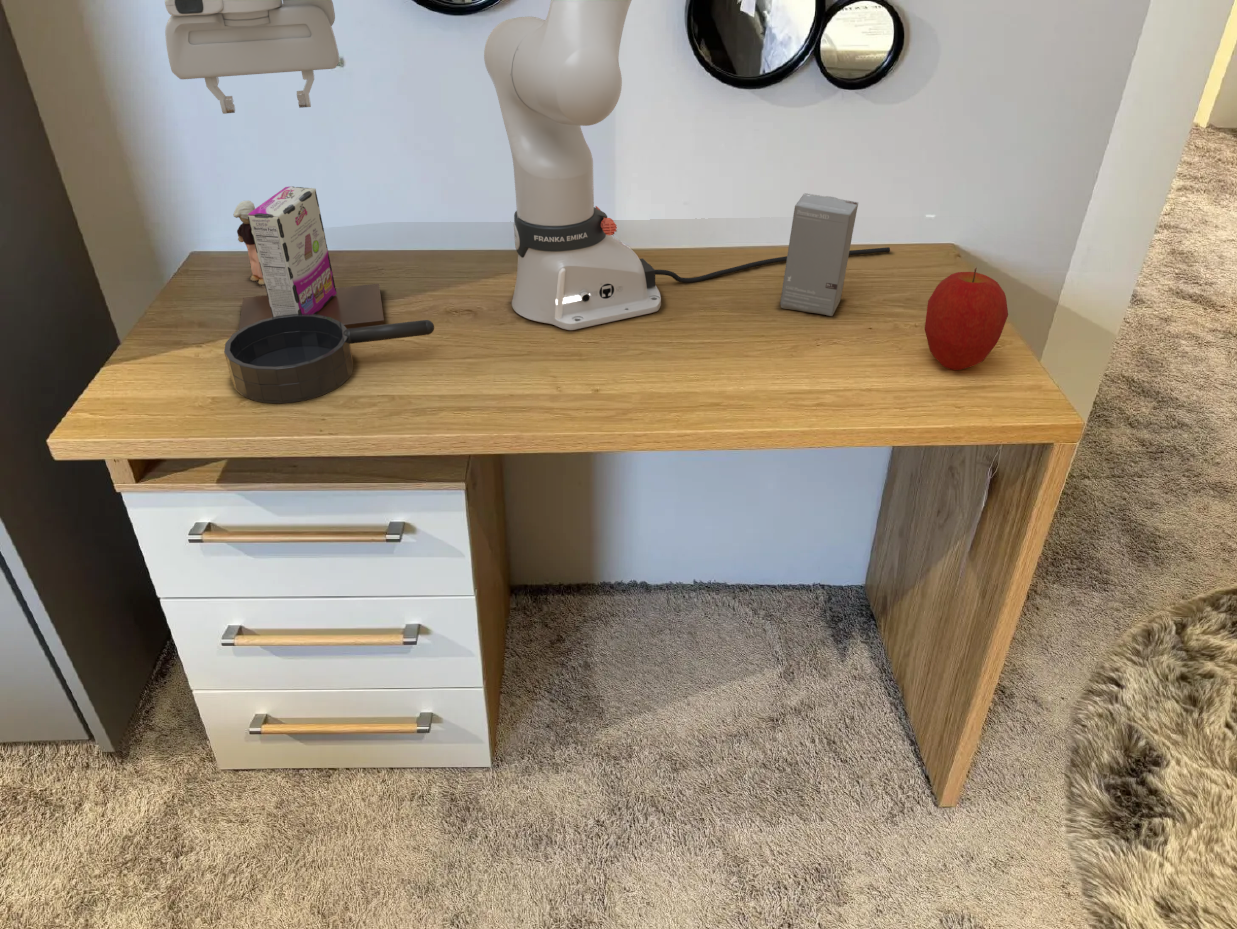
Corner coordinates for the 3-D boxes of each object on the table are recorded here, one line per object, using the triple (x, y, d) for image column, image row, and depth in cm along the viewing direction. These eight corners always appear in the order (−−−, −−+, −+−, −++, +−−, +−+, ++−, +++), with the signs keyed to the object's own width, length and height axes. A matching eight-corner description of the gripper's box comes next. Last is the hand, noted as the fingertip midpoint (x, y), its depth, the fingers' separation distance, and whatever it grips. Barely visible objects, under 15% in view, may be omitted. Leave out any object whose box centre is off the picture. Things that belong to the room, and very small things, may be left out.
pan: (351, 340, 135) (345, 308, 132) (355, 394, 123) (349, 360, 120) (237, 353, 132) (228, 320, 129) (229, 410, 120) (220, 375, 117)
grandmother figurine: (287, 279, 152) (271, 201, 145) (268, 288, 149) (250, 209, 142) (255, 269, 156) (237, 192, 148) (235, 277, 153) (216, 200, 146)
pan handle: (434, 329, 130) (432, 316, 129) (435, 336, 129) (434, 322, 127) (343, 340, 128) (341, 326, 127) (344, 347, 126) (341, 333, 125)
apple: (1008, 379, 126) (1034, 281, 118) (935, 385, 125) (957, 286, 117) (972, 343, 134) (994, 248, 126) (904, 348, 133) (922, 253, 125)
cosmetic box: (779, 309, 143) (789, 206, 134) (790, 290, 149) (801, 190, 140) (835, 318, 141) (850, 213, 132) (845, 299, 146) (859, 197, 137)
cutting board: (380, 292, 148) (378, 283, 147) (385, 329, 138) (383, 319, 137) (245, 306, 144) (242, 297, 143) (239, 346, 134) (237, 336, 133)
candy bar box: (307, 291, 145) (285, 184, 136) (337, 294, 144) (318, 187, 135) (270, 324, 136) (245, 212, 127) (303, 327, 135) (279, 215, 126)
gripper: (329, -18, 120) (349, 96, 128) (156, -9, 116) (187, 109, 124) (330, -10, 115) (350, 109, 123) (150, 0, 111) (182, 122, 119)
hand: (267, 109), depth 124 cm, fingers open, 8 cm apart
